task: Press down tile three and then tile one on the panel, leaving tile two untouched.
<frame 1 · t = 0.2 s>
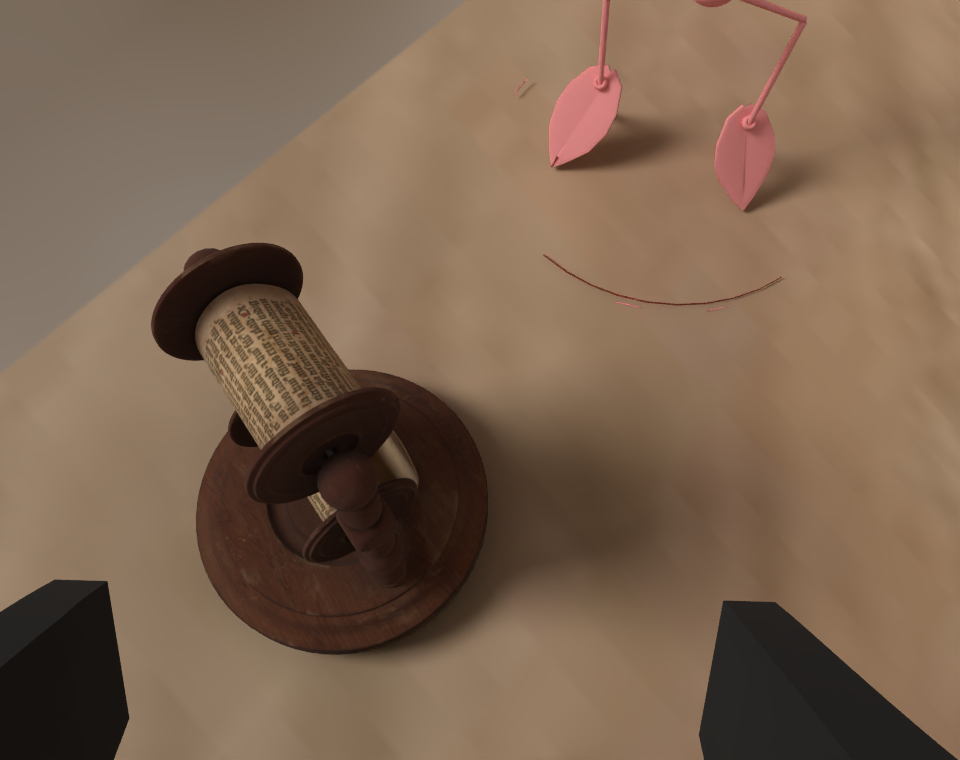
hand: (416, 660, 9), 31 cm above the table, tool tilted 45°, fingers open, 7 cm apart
dark brown tall piece: (350, 514, 42), on the table
figurine: (639, 207, 51), on the table
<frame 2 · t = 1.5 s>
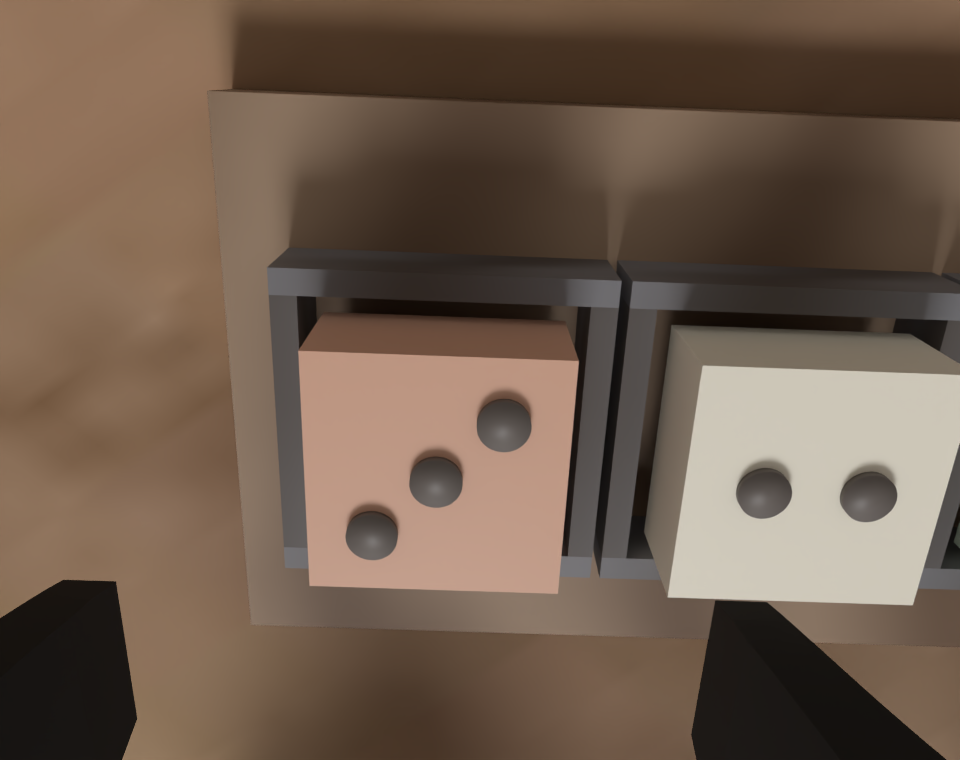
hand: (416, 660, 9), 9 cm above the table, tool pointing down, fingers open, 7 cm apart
panel: (728, 385, 18), on the table
tile two: (792, 465, 14), point 4 cm above the table, slide at 0.0 cm
tile three: (439, 453, 14), point 4 cm above the table, slide at 0.0 cm
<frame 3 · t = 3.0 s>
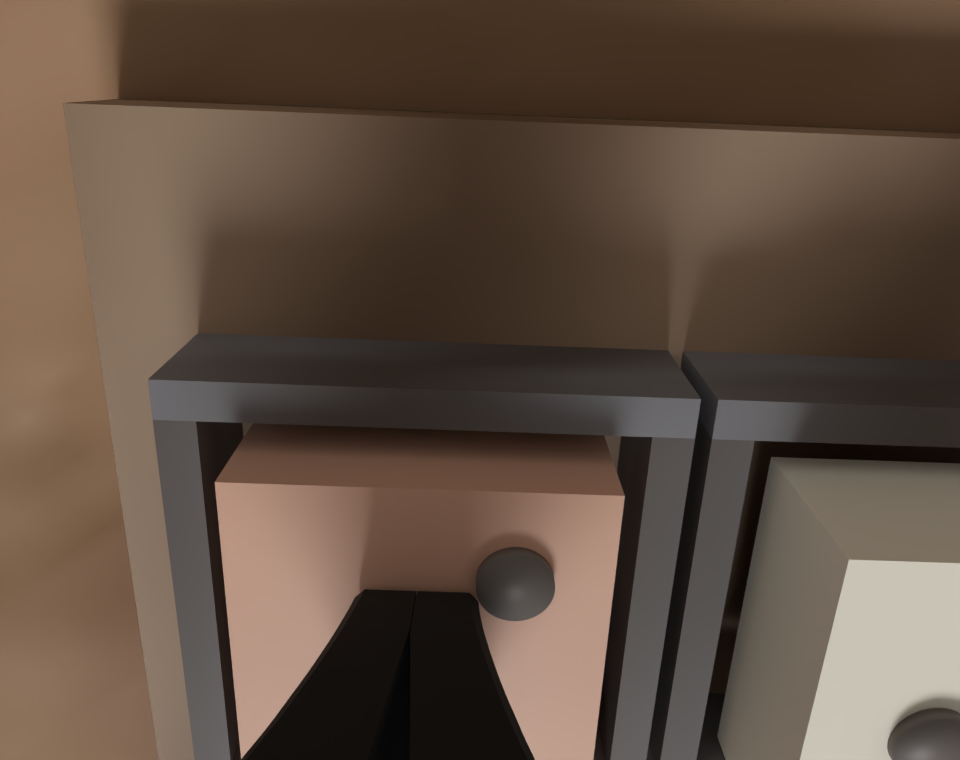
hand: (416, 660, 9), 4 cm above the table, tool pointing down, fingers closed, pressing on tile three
panel: (823, 505, 13), on the table
tile two: (958, 675, 9), point 4 cm above the table, slide at 0.0 cm
tile three: (424, 600, 10), point 3 cm above the table, slide at 1.1 cm, touching gripper
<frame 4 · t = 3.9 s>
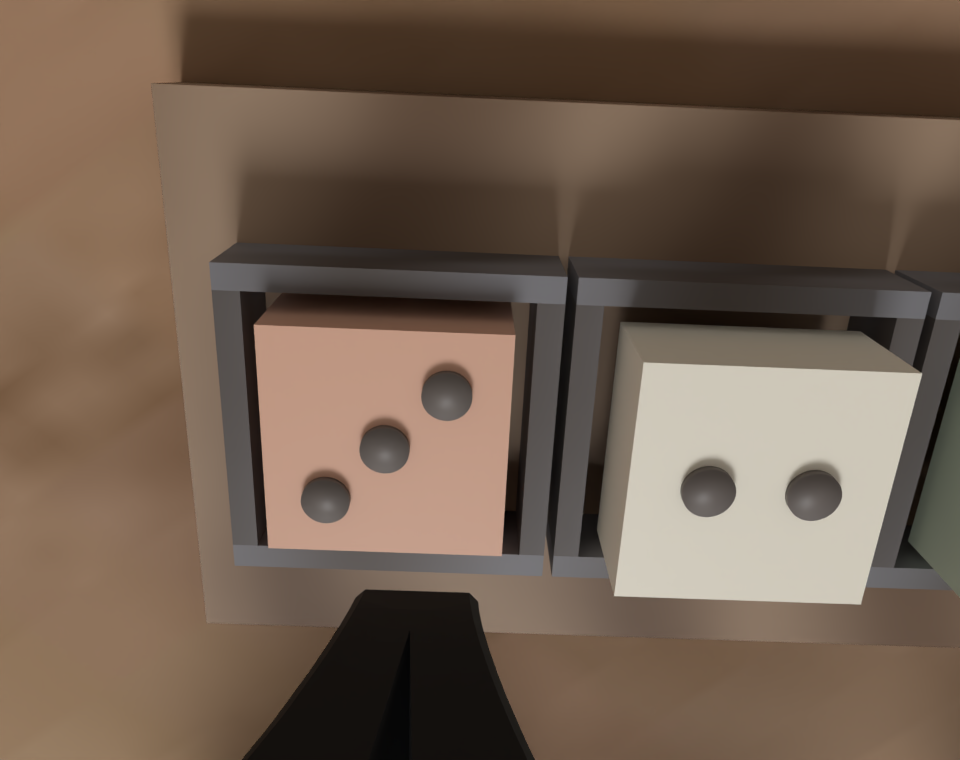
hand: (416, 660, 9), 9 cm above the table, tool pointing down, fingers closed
panel: (686, 383, 18), on the table
tile two: (740, 463, 14), point 4 cm above the table, slide at 0.0 cm
tile three: (390, 424, 15), point 3 cm above the table, slide at 1.1 cm
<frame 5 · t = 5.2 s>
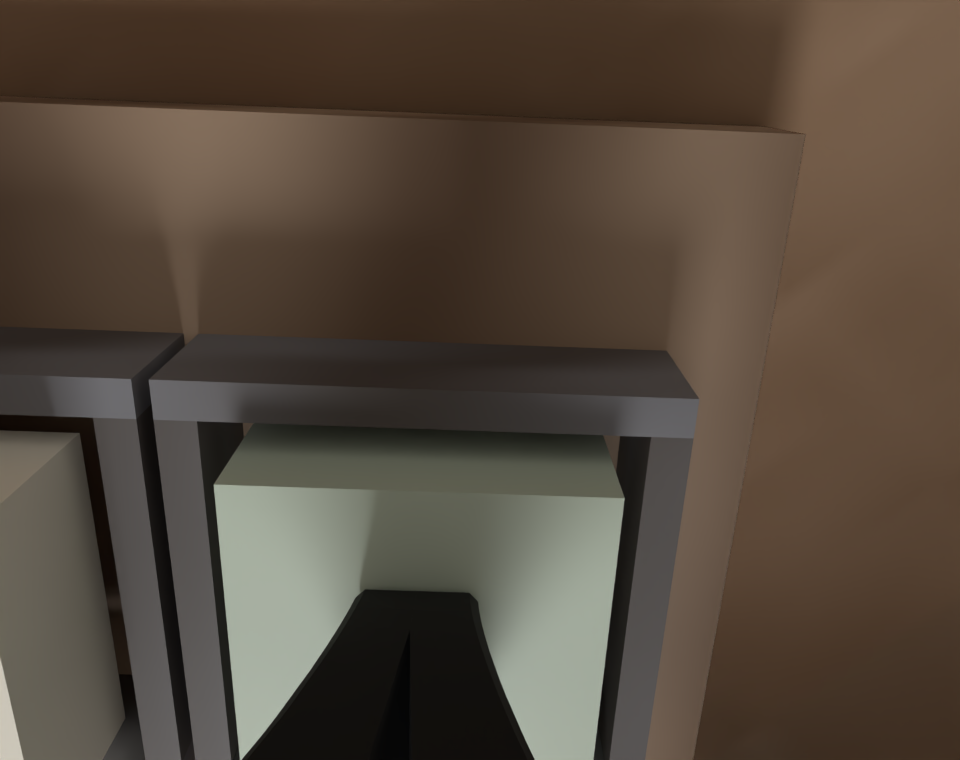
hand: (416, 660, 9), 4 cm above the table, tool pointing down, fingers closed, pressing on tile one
panel: (43, 479, 13), on the table
tile one: (423, 603, 10), point 3 cm above the table, slide at 1.0 cm, touching gripper
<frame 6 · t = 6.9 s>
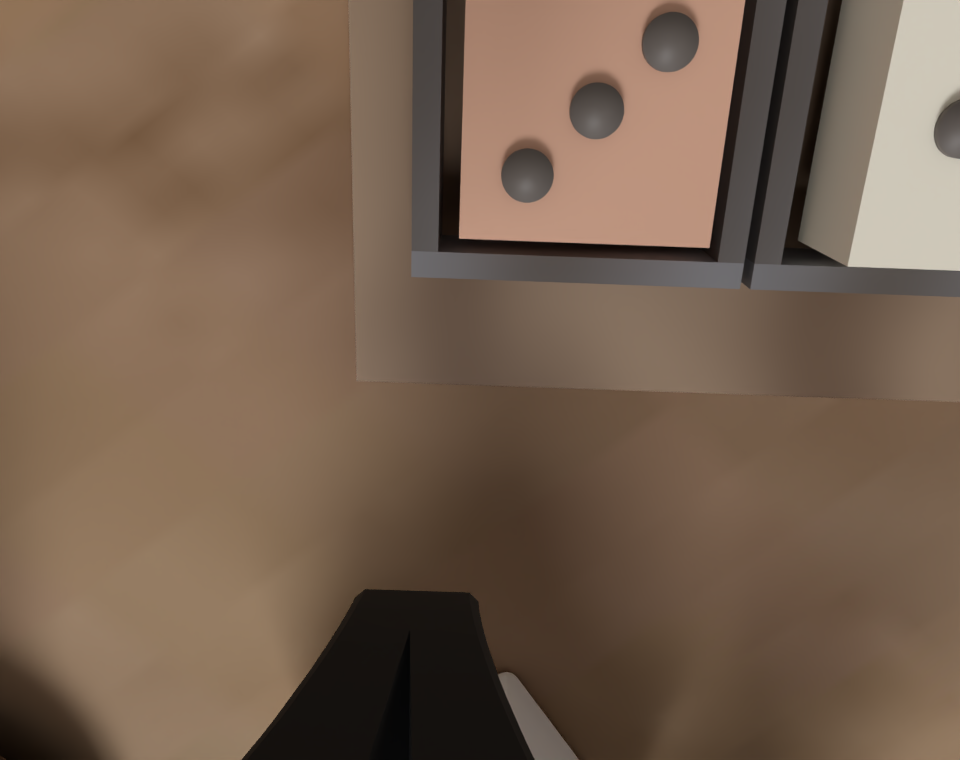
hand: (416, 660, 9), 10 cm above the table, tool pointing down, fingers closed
panel: (871, 114, 17), on the table
tile three: (588, 108, 14), point 3 cm above the table, slide at 1.1 cm
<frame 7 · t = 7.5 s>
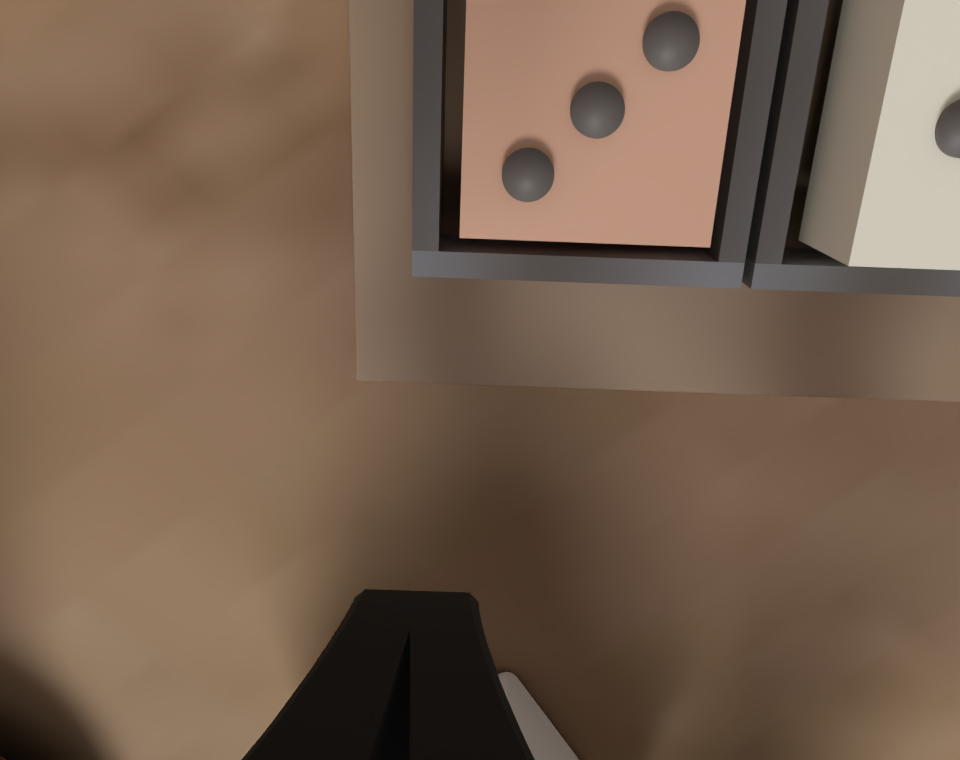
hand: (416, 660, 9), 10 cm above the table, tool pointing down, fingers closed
panel: (872, 114, 17), on the table
tile three: (588, 107, 14), point 3 cm above the table, slide at 1.1 cm
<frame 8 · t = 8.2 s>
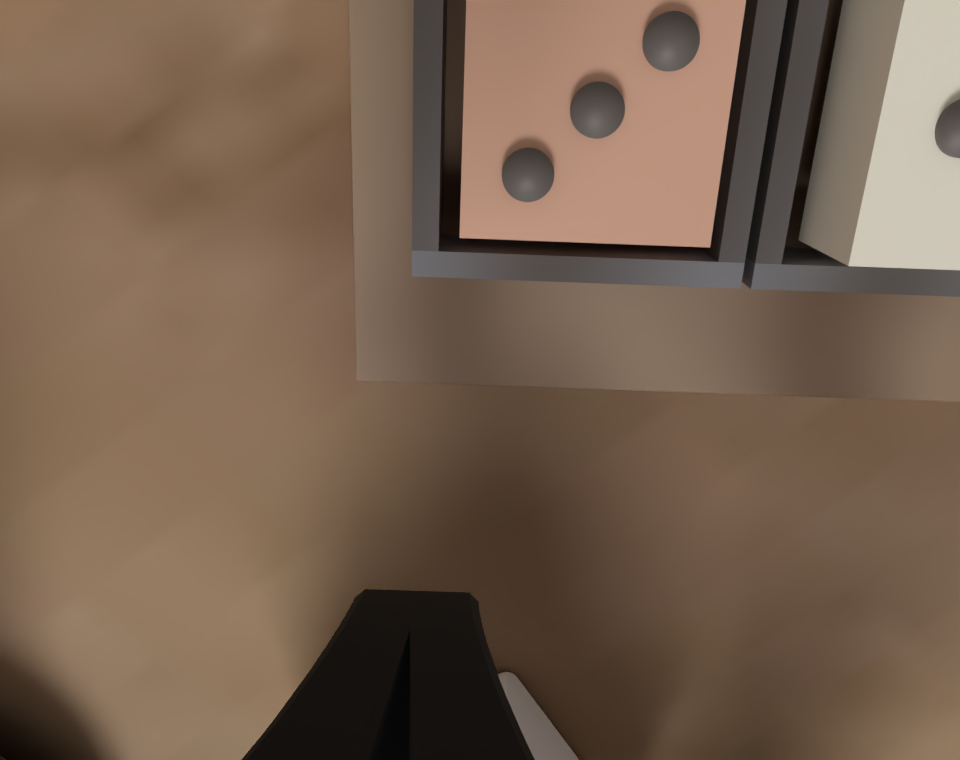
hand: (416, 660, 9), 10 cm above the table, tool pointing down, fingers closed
panel: (872, 114, 17), on the table
tile three: (588, 107, 14), point 3 cm above the table, slide at 1.1 cm
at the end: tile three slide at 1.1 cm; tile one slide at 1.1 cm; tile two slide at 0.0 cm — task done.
